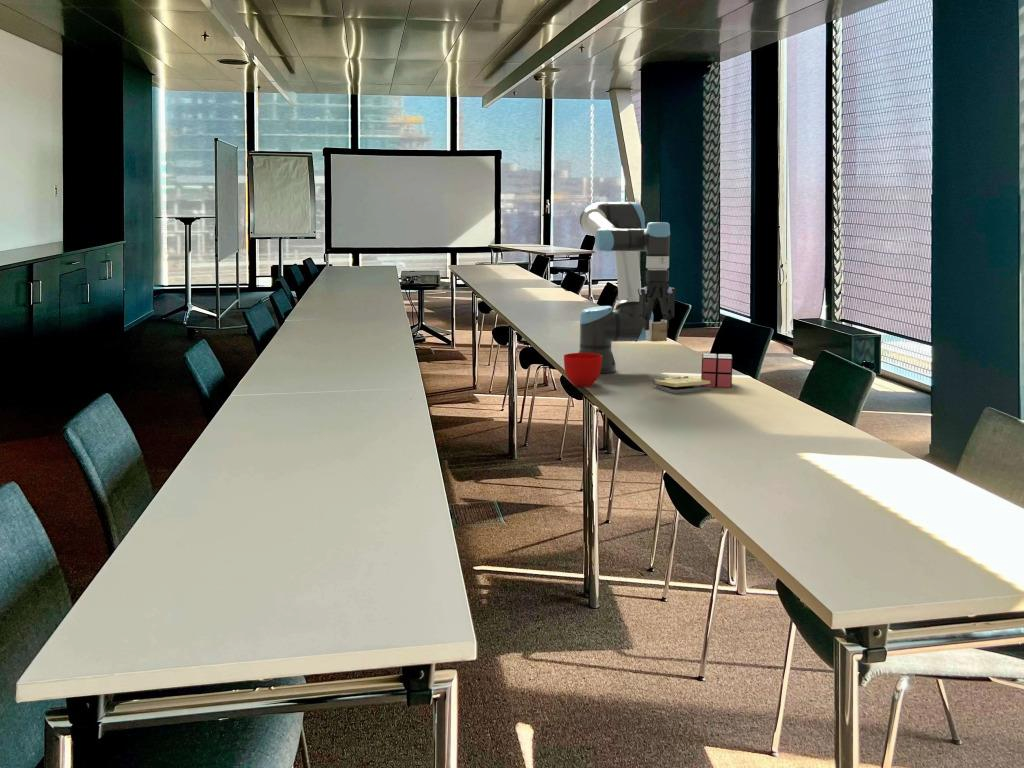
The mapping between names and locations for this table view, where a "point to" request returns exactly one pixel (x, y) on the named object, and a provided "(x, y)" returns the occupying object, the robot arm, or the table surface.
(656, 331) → the block
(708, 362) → the puzzle cube
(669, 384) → the cream square panel
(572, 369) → the ceramic cup
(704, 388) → the hinge base
